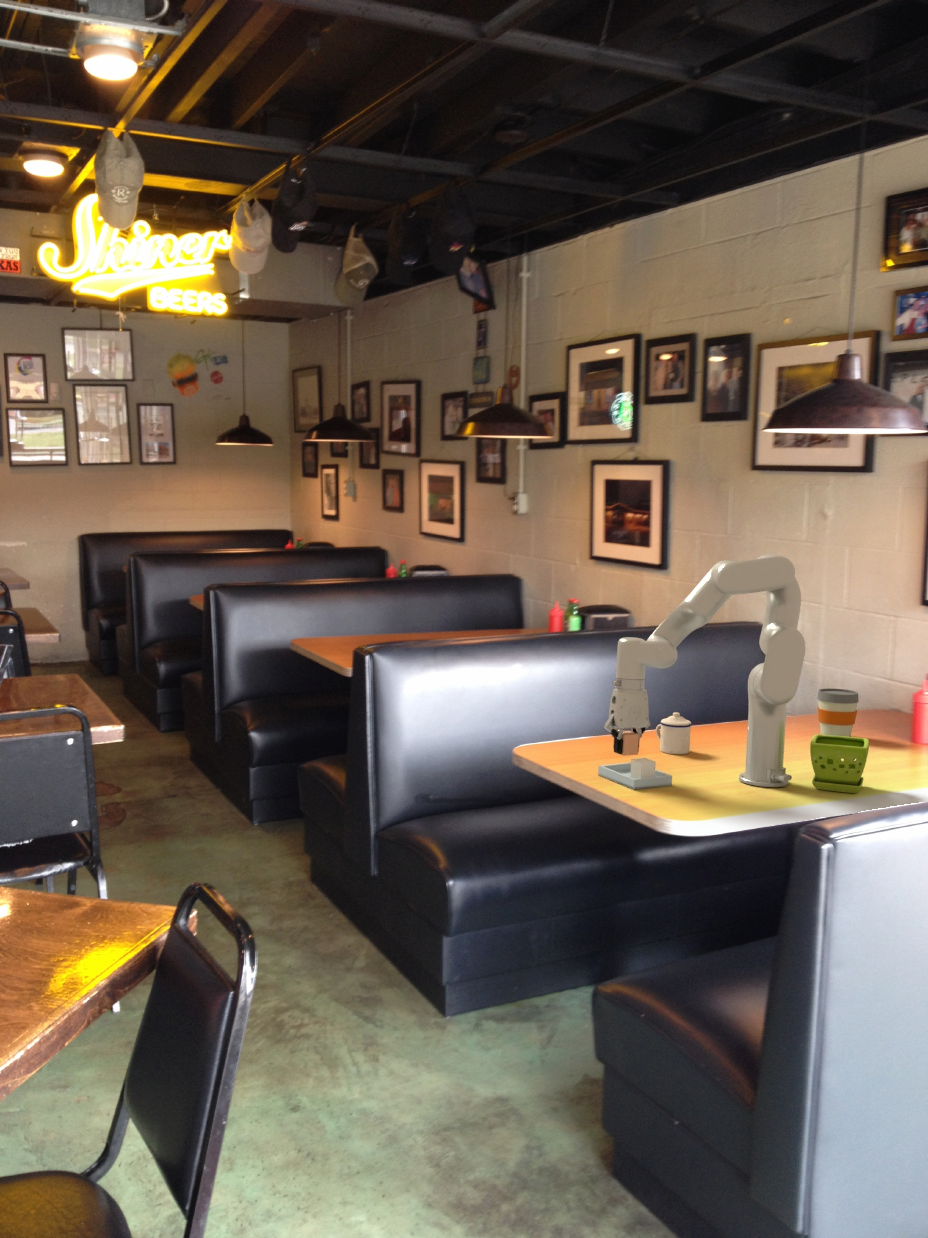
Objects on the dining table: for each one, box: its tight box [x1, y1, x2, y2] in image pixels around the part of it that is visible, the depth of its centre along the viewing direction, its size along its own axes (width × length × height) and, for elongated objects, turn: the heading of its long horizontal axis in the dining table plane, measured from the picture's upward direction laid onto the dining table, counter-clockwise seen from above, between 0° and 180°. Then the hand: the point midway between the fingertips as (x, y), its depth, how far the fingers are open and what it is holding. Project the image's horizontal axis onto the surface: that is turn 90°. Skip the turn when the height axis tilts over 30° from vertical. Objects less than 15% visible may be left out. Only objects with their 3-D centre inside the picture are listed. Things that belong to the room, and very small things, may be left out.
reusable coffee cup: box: [816, 687, 860, 737], centre depth 328 cm, size 13×13×15 cm
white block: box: [630, 757, 657, 779], centre depth 264 cm, size 4×4×6 cm
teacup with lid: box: [655, 712, 692, 756], centre depth 303 cm, size 12×9×12 cm
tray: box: [597, 761, 673, 791], centre depth 267 cm, size 16×12×3 cm
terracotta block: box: [620, 730, 640, 757], centre depth 270 cm, size 4×4×6 cm
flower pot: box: [809, 733, 870, 794], centre depth 264 cm, size 14×14×13 cm
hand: (626, 751), depth 270 cm, fingers closed on terracotta block, 4 cm apart
